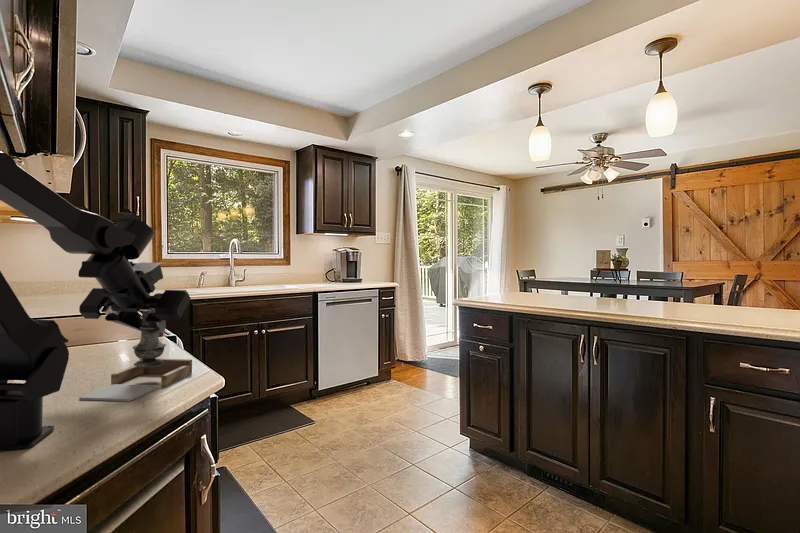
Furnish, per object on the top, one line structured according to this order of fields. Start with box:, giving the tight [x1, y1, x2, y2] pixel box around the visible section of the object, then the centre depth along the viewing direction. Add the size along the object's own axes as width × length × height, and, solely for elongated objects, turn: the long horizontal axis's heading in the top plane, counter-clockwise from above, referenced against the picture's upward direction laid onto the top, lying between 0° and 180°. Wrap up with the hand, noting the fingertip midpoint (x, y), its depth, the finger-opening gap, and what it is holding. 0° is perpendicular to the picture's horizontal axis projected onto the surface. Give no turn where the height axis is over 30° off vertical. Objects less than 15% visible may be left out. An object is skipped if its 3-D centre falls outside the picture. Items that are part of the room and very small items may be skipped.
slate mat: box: [78, 383, 159, 402], centre depth 76 cm, size 8×9×1 cm
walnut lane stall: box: [110, 357, 193, 387], centre depth 86 cm, size 10×11×3 cm
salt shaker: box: [131, 311, 167, 367], centre depth 84 cm, size 6×6×12 cm
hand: (154, 330), depth 86 cm, fingers closed on salt shaker, 4 cm apart
